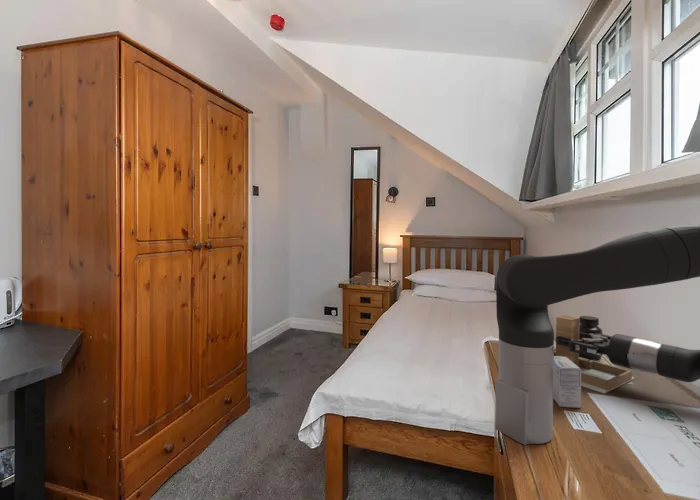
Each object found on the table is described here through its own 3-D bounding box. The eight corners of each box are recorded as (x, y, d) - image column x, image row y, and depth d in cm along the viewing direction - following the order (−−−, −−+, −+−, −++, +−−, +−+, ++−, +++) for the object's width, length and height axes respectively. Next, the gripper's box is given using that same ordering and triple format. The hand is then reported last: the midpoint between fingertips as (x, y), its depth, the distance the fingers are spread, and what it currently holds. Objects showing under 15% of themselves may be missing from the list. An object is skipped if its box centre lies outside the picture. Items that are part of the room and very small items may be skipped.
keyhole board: (604, 393, 81) (604, 379, 81) (526, 367, 97) (526, 355, 97) (634, 378, 89) (635, 365, 89) (558, 357, 105) (558, 345, 105)
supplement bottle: (569, 354, 108) (569, 315, 108) (585, 351, 110) (586, 314, 110) (590, 361, 101) (591, 320, 101) (607, 359, 103) (608, 319, 103)
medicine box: (581, 409, 74) (582, 368, 74) (558, 407, 75) (559, 367, 75) (566, 392, 82) (567, 356, 81) (545, 391, 83) (546, 355, 82)
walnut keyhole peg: (572, 373, 92) (573, 321, 91) (549, 366, 97) (550, 316, 96) (584, 369, 95) (585, 318, 94) (561, 362, 100) (562, 313, 99)
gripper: (650, 333, 85) (578, 320, 99) (624, 343, 78) (550, 327, 92) (649, 363, 86) (578, 346, 100) (623, 376, 78) (550, 355, 92)
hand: (565, 337), depth 96 cm, fingers open, 8 cm apart
